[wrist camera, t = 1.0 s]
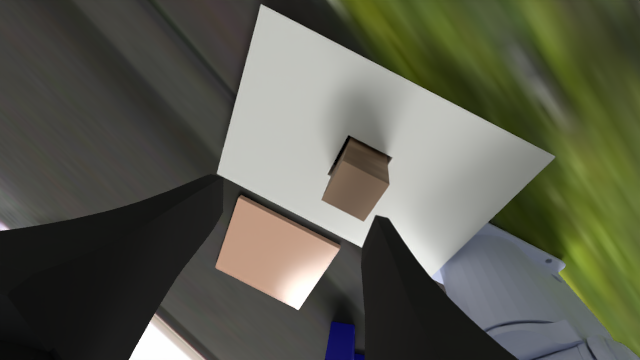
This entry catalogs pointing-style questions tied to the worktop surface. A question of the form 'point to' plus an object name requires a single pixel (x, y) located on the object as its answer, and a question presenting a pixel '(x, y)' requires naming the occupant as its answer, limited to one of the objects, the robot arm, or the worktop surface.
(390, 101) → the board
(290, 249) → the terracotta tile
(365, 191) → the walnut peg
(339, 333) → the cable clip
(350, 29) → the worktop surface
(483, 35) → the worktop surface
